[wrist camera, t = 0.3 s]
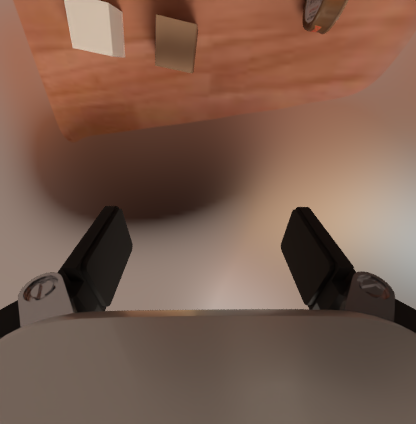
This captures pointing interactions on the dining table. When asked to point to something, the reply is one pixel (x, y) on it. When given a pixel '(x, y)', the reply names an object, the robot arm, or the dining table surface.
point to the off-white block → (96, 27)
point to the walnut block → (175, 44)
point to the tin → (322, 14)
